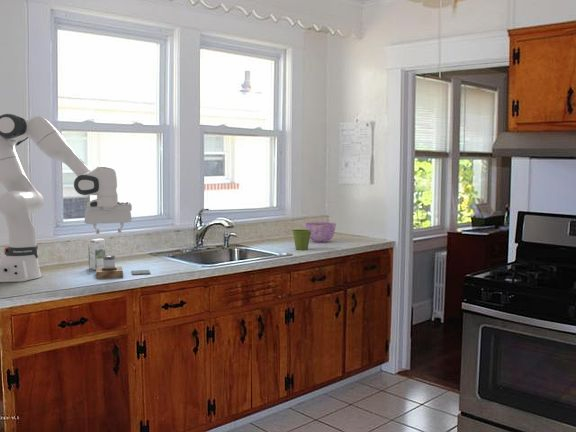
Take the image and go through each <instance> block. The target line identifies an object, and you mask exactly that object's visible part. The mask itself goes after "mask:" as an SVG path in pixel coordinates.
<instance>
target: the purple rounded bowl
mask: <svg viewBox="0 0 576 432" xmlns="http://www.w3.org/2000/svg"><path fill="white" fill-rule="evenodd" d="M336 227H337V223H335V222H330V221H329V222H328V221H326V222H325V221H323V222H322V221H321V222H320V221H316V222H315V221H313V222H306V223H305V230H312V232H311V235H310V239H309V240H312V241H313V242H315V243H327V242H328V241H330V240H331V239H333V237H334V234H335V232H336V231H335V230H336Z"/></svg>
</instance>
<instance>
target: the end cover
mask: <svg viewBox="0 0 576 432" xmlns="http://www.w3.org/2000/svg"><path fill="white" fill-rule="evenodd" d="M102 258H103V269H104V271H109V270H115V267H116V255H113V254H107V255H106V254H105V256H102Z"/></svg>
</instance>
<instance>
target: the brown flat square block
mask: <svg viewBox="0 0 576 432" xmlns="http://www.w3.org/2000/svg"><path fill="white" fill-rule="evenodd" d="M95 273H96V274H95V276H96V280H99V279H100V280H101V279H118V278H120V279H121V278H123V277H124V271H123V267H122V266H115V270H109V271H104V269H103V267H101V268H96V270H95Z"/></svg>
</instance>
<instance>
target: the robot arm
mask: <svg viewBox="0 0 576 432" xmlns="http://www.w3.org/2000/svg"><path fill="white" fill-rule="evenodd" d="M57 129H58V128H56V127H55V126H54V125H53V124H52V123H51V122H50V121H48V120H47V119H46V118H45V117H43V116H42V115H36V116H35V115H34V116H33V117H30V119H29V118H28V119H27V120H25V118H23V117H21V116H18V115H15V114H12V113H5V114H1V115H0V184H1V185H2V186H3V187H5V189H6V190H7V192H4V193H3V194H1V195H0V213H1V214H2V216H3V217H4V220H5V223H6V225H7V231H8V245H9V246H5V247H4V251H3V252H4V256H2V257H1V258H0V283H8V282H9V283H10V282H12V283H14V282H15V283H16V282H26V281H30V280H36V279H40V278H41V277H42V272H41V270H40V264H39V246H38V245H37V244H38V243H37V228H36V226H35V225H34V224H33V222H32V220H31V216H30V215H31V214H35V213H36V212H38V211H40V210H41V209H42V208H43V207H44V202H45V199H44V196H43V194H42V193H40V192H39V191H38V190H37V189H36V188H35V187H34V185H33V184H32V183H31V181H30V179H29V178H28V177H27V175H26V173H25V171H24V168H23V166H22V164H21V161H20V158H19V156H18V153H17V150H16V147H17V146H19V145H20V144H22V143H24V142H25V141H27V140H28V139H30V140H31V141H33V143H34V144H35V146H36V147H37V148H38V149H39V150H40V152H42V153H43V154H44V155H46V156H47V157H49V158H50V159H52V160H55V161H59V162H61V163H63V164H64V165H66V166H67V167H68V168H69V169H70V170H71V171H72V172H73V173H74V174H75V176H76V177H75V179H74V182H73V187H74V191H75V192H76V193H77V194H78V195H81V196H96V199H93V200H90V201H88V202H86V208H85V212H84V223H85V224H86V225H93V226H92V227H93V228H94V229H95V234H98V235H99V234H100V229H98V227H97V224H115V223H116V224H117V223H120V227H118V228H117V233H119V234H121V233H122V228H123V227H124V223H130V222H131V221H132V214H131V213H132V209H133V207H132V205H133V204H131V202H129V201H118V200H119V199H118V193H117V187H118V180H117V179H118V177H117V174H116V171H115V169H114V168H113V167H111V166H106V165H98V166H97V167H95V168H94V169H93V170H92V169H91V168H89V167H88V165H86V163H85V162H84V161H83V160H82V158H80V157H79V156H78V155H77V154H76V152H75V151H74V150H73V148H72V147H71V146H70V145H69V143H68V142H67V140H66V139H65V138H64V137H63V135H62V134H61V133H60V131H59V130H57Z"/></svg>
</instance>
